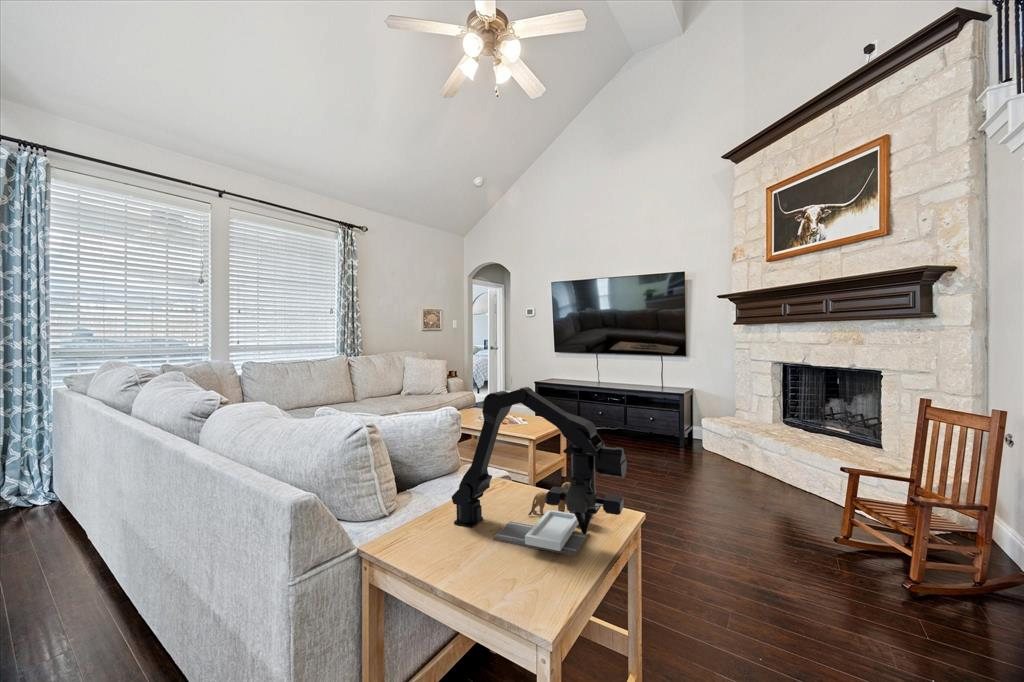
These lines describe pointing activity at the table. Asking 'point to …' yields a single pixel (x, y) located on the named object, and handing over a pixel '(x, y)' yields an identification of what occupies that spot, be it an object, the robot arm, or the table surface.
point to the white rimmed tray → (552, 530)
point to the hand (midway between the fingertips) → (584, 533)
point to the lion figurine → (541, 501)
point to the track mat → (517, 536)
